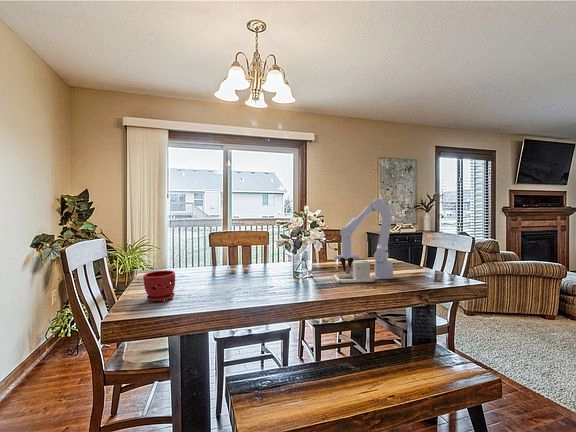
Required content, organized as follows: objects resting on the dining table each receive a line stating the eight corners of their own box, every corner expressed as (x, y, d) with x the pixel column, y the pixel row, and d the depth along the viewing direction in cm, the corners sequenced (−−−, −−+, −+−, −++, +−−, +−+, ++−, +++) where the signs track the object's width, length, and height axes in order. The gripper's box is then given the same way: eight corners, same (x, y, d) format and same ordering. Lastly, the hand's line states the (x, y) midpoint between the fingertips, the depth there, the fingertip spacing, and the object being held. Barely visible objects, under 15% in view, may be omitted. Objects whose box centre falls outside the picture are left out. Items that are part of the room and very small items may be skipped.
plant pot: (152, 295, 152) (151, 270, 152) (180, 295, 152) (179, 270, 151) (138, 304, 139) (137, 276, 139) (168, 304, 139) (168, 276, 138)
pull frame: (363, 273, 192) (363, 265, 192) (374, 281, 172) (374, 272, 172) (330, 274, 191) (330, 266, 190) (338, 282, 171) (338, 273, 171)
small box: (366, 279, 179) (366, 260, 178) (370, 281, 173) (370, 262, 173) (352, 279, 178) (352, 260, 178) (355, 282, 173) (355, 262, 172)
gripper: (356, 246, 196) (356, 269, 197) (332, 247, 195) (333, 269, 196) (360, 248, 189) (360, 271, 190) (335, 248, 188) (335, 272, 188)
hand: (346, 270), depth 192 cm, fingers closed on pull frame, 2 cm apart
